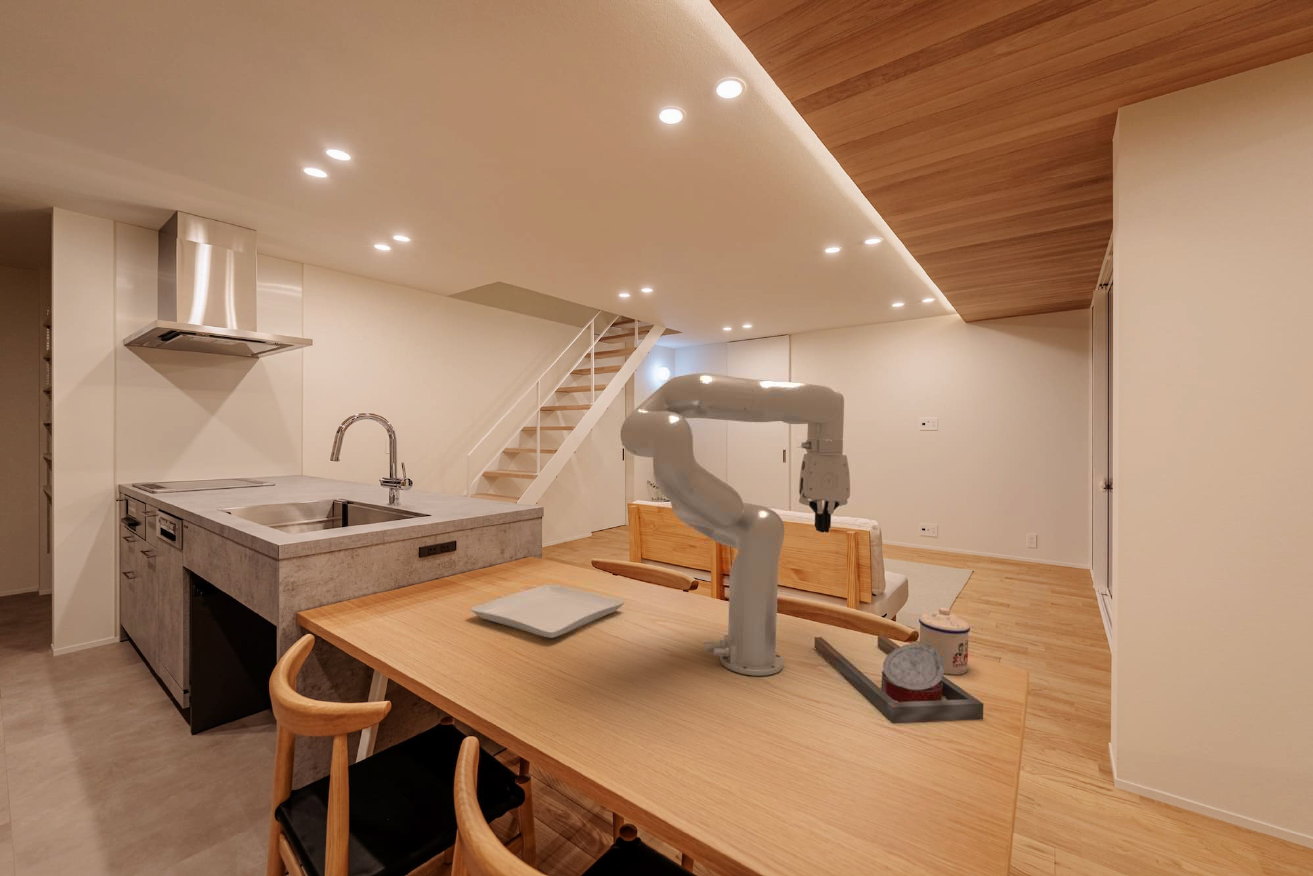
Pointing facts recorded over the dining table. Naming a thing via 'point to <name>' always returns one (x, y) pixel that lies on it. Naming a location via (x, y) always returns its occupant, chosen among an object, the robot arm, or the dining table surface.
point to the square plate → (548, 609)
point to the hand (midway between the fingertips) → (822, 531)
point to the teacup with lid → (946, 639)
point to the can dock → (916, 711)
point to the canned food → (913, 673)
